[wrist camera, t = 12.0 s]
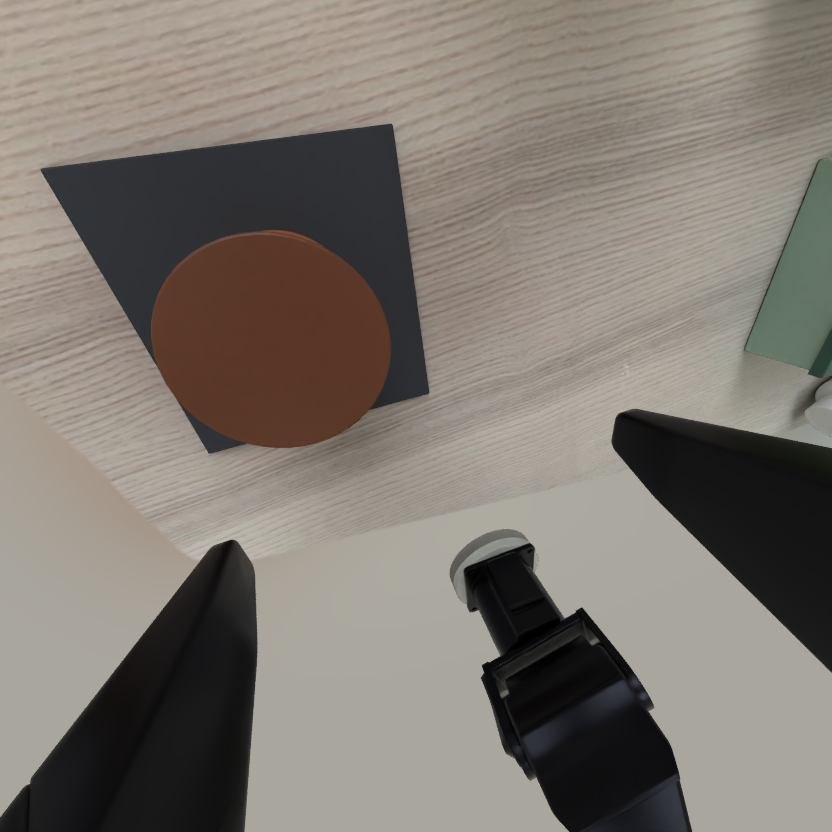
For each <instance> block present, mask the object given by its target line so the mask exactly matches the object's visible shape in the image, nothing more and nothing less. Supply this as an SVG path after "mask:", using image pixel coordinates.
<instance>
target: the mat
mask: <svg viewBox="0 0 832 832" xmlns="http://www.w3.org/2000/svg"><path fill="white" fill-rule="evenodd" d="M41 172H42V174H43V175H44V177H45V179H46V180H47V182H48V184H49V185H50V187H51V189H52V190H53V192H54V194H55V195H56V197H57V199H58V200H59V202H60V204H61V205H62V207H63V209H64V211H65V212H66V214H67V216H68V217H69V219H70V221H71V222H72V224H73V226H74V227H75V229H76V231H77V232H78V234H79V236H80V237H81V239H82V241H83V242H84V244H85V246H86V248H87V249H88V251H89V253H90V254H91V256H92V258H93V259H94V261H95V263H96V264H97V266H98V268H99V269H100V271H101V273H102V274H103V276H104V278H105V279H106V281H107V283H108V285H109V286H110V288H111V290H112V291H113V293H114V295H115V296H116V298H117V300H118V301H119V303H120V305H121V306H122V308H123V310H124V311H125V313H126V315H127V316H128V318H129V320H130V322H131V323H132V325H133V327H134V328H135V330H136V332H137V333H138V335H139V337H140V338H141V340H142V342H143V343H144V345H145V347H146V348H147V350H148V352H149V353H150V355H151V357H152V359H153V360H154V362H155V364H156V365H157V362H156V359H155V356H154V351H153V346H152V340H151V321H152V315H153V308H154V305H155V302H156V299H157V296H158V293H159V291H160V289H161V288H162V286H163V284H164V282H165V280H166V278H167V277H168V276H169V275H170V273H171V272H172V271H173V270H174V268H175V267H176V266H177V265H178V264H179V263H180V262H181V261H182V260H184V259H185V258H186V257H187V256H188V255H189V254H191V253H192V252H194V251H195V250H197V249H199V248H200V247H202V246H203V245H205V244H208V243H210V242H213V241H215V240H217V239H220V238H223V237H226V236H230V235H234V234H238V233H245V232H255V231H266V230H283V231H288V232H294V233H297V234H300V235H303V236H305V237H308V238H310V239H312V240H314V241H316V242H317V243H319V244H321V245H322V246H324V247H325V248H327V249H328V250H330V251H331V252H333V253H335V254H336V255H338V256H339V257H341V258H342V259H343V260H344V261H345V262H347V263H348V264H349V265H350V266H352V267H353V268H354V269H355V270H356V272H357V273H358V274H359V275H360V276H361V277H362V278H363V279H364V280H365V281H366V283H367V284H368V285H369V287H370V288H371V289H372V291H373V292H374V294H375V296H376V297H377V299H378V301H379V303H380V305H381V307H382V310H383V312H384V315H385V317H386V320H387V324H388V328H389V333H390V341H391V358H390V365H389V370H388V374H387V378H386V381H385V383H384V386H383V388H382V390H381V392H380V394H379V396H378V397H377V399H376V401H375V402H374V404H373V405H372V406H371V408H370V409H374V408H378V407H381V406H385V405H388V404H392V403H396V402H399V401H403V400H407V399H410V398H414V397H418V396H421V395H425V394H428V393H429V388H428V380H427V373H426V366H425V358H424V351H423V344H422V336H421V329H420V322H419V314H418V307H417V300H416V292H415V285H414V278H413V271H412V263H411V256H410V249H409V241H408V234H407V227H406V219H405V212H404V205H403V197H402V190H401V183H400V175H399V168H398V161H397V153H396V146H395V139H394V131H393V125H392V124H386V125H378V126H370V127H363V128H355V129H347V130H339V131H331V132H323V133H316V134H308V135H300V136H292V137H284V138H277V139H269V140H261V141H253V142H245V143H238V144H230V145H222V146H214V147H206V148H198V149H191V150H183V151H175V152H167V153H159V154H152V155H144V156H136V157H128V158H120V159H112V160H105V161H97V162H89V163H81V164H73V165H66V166H58V167H50V168H42V169H41ZM157 367H158V365H157ZM158 369H159V368H158ZM176 399H177V398H176ZM177 401H178V400H177ZM178 402H179V401H178ZM179 404H180V406H181V407H182V409H183V411H184V412H185V414H186V416H187V417H188V419H189V421H190V422H191V424H192V426H193V427H194V429H195V431H196V433H197V434H198V436H199V438H200V439H201V441H202V443H203V444H204V446H205V448H206V449H207V451H208V453H214V452H217V451H221V450H225V449H228V448H232V447H235V446H239V445H243V444H246V443H244V442H241V441H238V440H235V439H232V438H230V437H228V436H225V435H223V434H221V433H219V432H217V431H215V430H213V429H212V428H210V427H208V426H207V425H205V424H204V423H202V422H201V421H200V420H198V419H197V418H196V417H195V416H193V415H192V414H191V413H190V412H189V411H188V410H187V409H185V407H184V406H183V405H182V404H181V403H180V402H179ZM370 409H369V410H370Z"/></svg>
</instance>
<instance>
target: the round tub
mask: <svg viewBox="0 0 832 832" xmlns="http://www.w3.org/2000/svg"><path fill="white" fill-rule="evenodd" d="M151 340H152V346H153V351H154V356H155V359H156V362H157V365H158V368H159V371H160V373H161V375H162V376H163V378H164V380H165V382H166V384H167V386H168V387H169V389H170V390H171V392H172V393H173V395H174V396H175V397H176V398H177V400H178V401H179V402H180V403H181V404H182V405H183V406H184V407H185V409H187V410H188V411H189V412H190V413H191V414H192V415H193V416H195V417H196V418H197V419H198V420H200V421H201V422H202V423H204V424H205V425H207V426H208V427H210V428H212V429H213V430H215V431H217V432H219V433H221V434H223V435H225V436H228V437H230V438H232V439H235V440H238V441H241V442H244V443H248V444H252V445H257V446H263V447H274V448H291V447H299V446H306V445H310V444H315V443H318V442H321V441H324V440H327V439H329V438H331V437H333V436H336V435H338V434H340V433H341V432H343V431H345V430H346V429H348V428H349V427H351V426H352V425H353V424H355V423H356V422H357V421H358V420H359V419H360V418H361V417H362V416H363V415H364V414H365V413H366V412H367V411H368V410H369V409H370V408H371V406H372V405H373V404H374V402H375V401H376V399H377V397H378V396H379V394H380V392H381V390H382V388H383V386H384V383H385V381H386V378H387V374H388V370H389V365H390V358H391V341H390V333H389V328H388V324H387V320H386V317H385V315H384V312H383V310H382V307H381V305H380V303H379V301H378V299H377V297H376V296H375V294H374V292H373V291H372V289H371V288H370V287H369V285H368V284H367V283H366V281H365V280H364V279H363V278H362V277H361V276H360V275H359V274H358V273H357V272H356V270H355V269H354V268H353V267H352V266H350V265H349V264H348V263H347V262H345V261H344V260H343V259H342V258H341V257H339V256H338V255H336V254H335V253H333V252H331V251H330V250H328V249H327V248H325V247H324V246H322V245H321V244H319V243H317V242H316V241H314V240H312V239H310V238H308V237H305V236H303V235H300V234H297V233H294V232H288V231H283V230H266V231H255V232H245V233H238V234H234V235H230V236H226V237H223V238H220V239H217V240H215V241H213V242H210V243H208V244H205V245H203V246H202V247H200V248H199V249H197V250H195V251H194V252H192V253H191V254H189V255H188V256H187V257H186V258H185V259H184V260H182V261H181V262H180V263H179V264H178V265H177V266H176V267H175V268H174V270H173V271H172V272H171V273H170V275H169V276H168V277H167V278H166V280H165V282H164V284H163V286H162V288H161V289H160V291H159V293H158V296H157V299H156V302H155V305H154V308H153V315H152V321H151Z"/></svg>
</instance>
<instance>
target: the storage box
mask: <svg viewBox="0 0 832 832" xmlns="http://www.w3.org/2000/svg"><path fill="white" fill-rule="evenodd" d="M745 351H748V352H752V353H755V354H758V355H761V356H765V357H768V358H771V359H775V360H778V361H781V362H784V363H788V364H791V365H794V366H798V367H801V368H804V369H808V370H810V371H809V373H808V374H809V375H812V376H816V377H819V378H824V377H827V376H830V375H832V157H831V158H826V159H821V160H820V161H819V163H818V165H817V168H816V171H815V173H814V176H813V178H812V181H811V183H810V186H809V188H808V191H807V193H806V196H805V198H804V201H803V203H802V206H801V208H800V211H799V213H798V216H797V218H796V221H795V223H794V226H793V229H792V231H791V234H790V236H789V239H788V241H787V244H786V246H785V249H784V251H783V254H782V256H781V259H780V261H779V264H778V266H777V269H776V271H775V274H774V276H773V279H772V281H771V284H770V287H769V289H768V292H767V294H766V297H765V299H764V302H763V304H762V307H761V309H760V312H759V314H758V317H757V319H756V322H755V324H754V327H753V329H752V332H751V334H750V337H749V339H748V342H747V345H746V347H745Z"/></svg>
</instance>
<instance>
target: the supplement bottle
mask: <svg viewBox="0 0 832 832" xmlns="http://www.w3.org/2000/svg"><path fill="white" fill-rule="evenodd" d="M815 399H816V402H815V403H814V404H813V405H811V406H810V407H808V408H807V409H806V411H805V418H806V420H807V421H808V422H809V423H810V424H811V425H812V426H813V427H814V428H815V429H817V430H818V431H820V432H822V433H823V434H825V435H828V436H830V437H832V378H831V379H830V380H828V381H827V382H825V383H824V384H823V385H821V386H820V387H819V388H818V389H817V391H816V393H815Z"/></svg>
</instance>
